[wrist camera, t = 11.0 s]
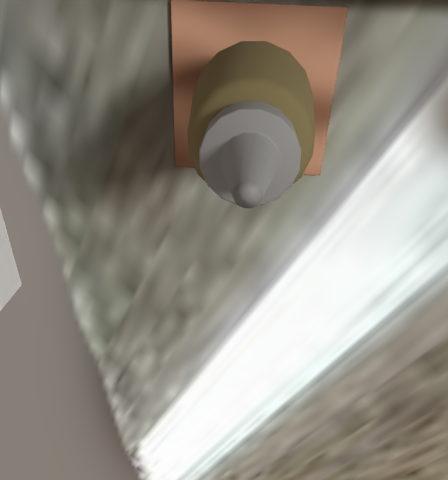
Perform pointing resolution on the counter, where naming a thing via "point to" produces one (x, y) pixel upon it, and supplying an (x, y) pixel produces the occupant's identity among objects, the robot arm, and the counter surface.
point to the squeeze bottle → (251, 123)
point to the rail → (255, 29)
